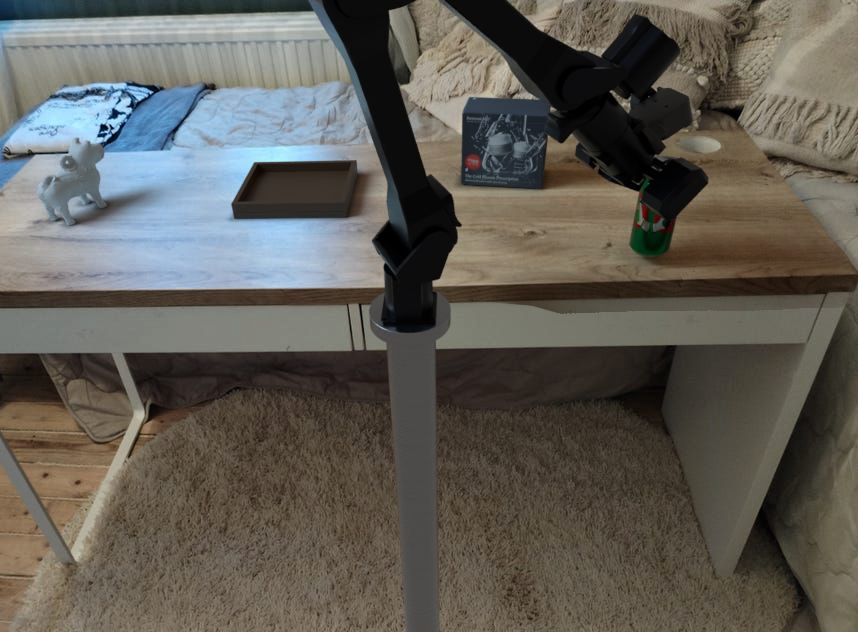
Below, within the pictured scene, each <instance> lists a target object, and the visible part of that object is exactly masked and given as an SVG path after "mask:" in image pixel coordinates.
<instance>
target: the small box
mask: <svg viewBox="0 0 858 632" xmlns="http://www.w3.org/2000/svg"><path fill="white" fill-rule="evenodd" d="M551 108H552V107H551V106H549V105H548V104H546V103H545V102H543V101H541V100H540V99H535V98H531V99H530V98H507V97H480V96H478V97H477V96H469V97H468V98H467V101H466V103H465V104H464V106H463V109H462V111H461V166H460V184H461V185H468V186H487V187H502V188H503V187H504V188H518V189H519V188H521V189H535V190H541V189H543V186H544V185H543V184H544V178H545V177H544V176H545V169H546V168H545V167H546V160H547V149H548V141H549V140H548V139H549V136H548V135H547V134H545V133H544V129H545V124H546V122H547V119H548V117H547V114H548V113H549V112H551Z"/></svg>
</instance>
